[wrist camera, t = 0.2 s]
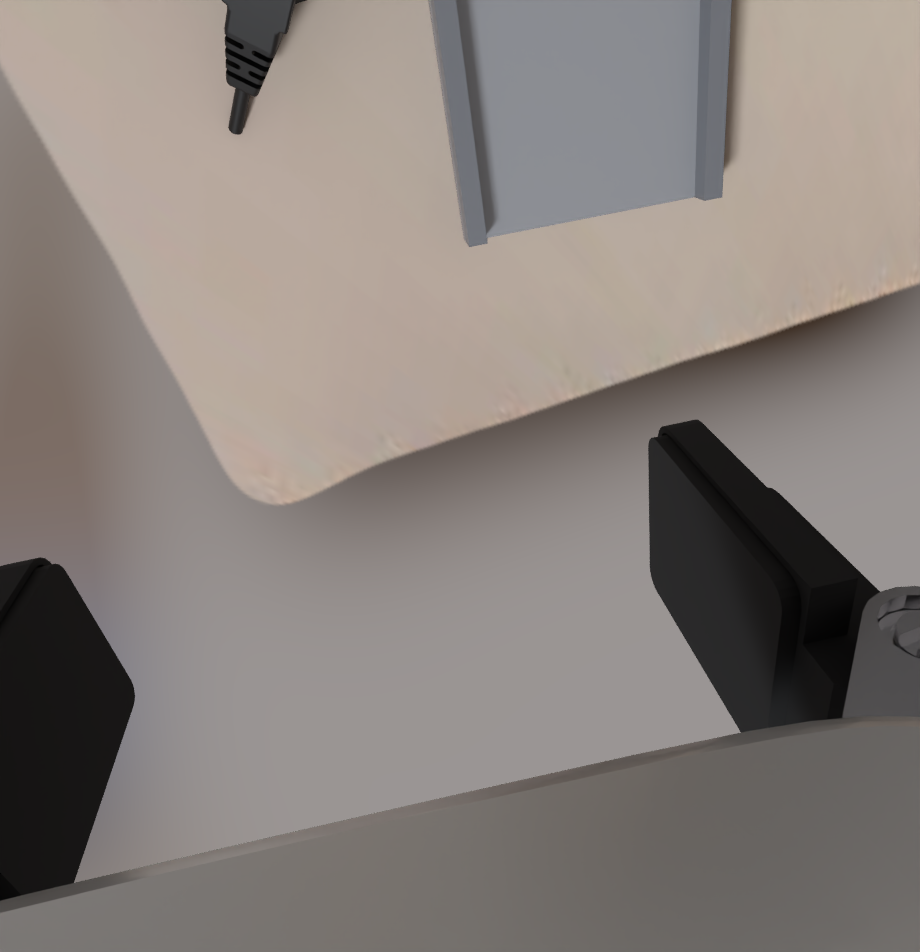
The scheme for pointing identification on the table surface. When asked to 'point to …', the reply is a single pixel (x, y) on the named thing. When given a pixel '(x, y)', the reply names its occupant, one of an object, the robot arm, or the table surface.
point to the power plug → (252, 47)
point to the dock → (580, 106)
